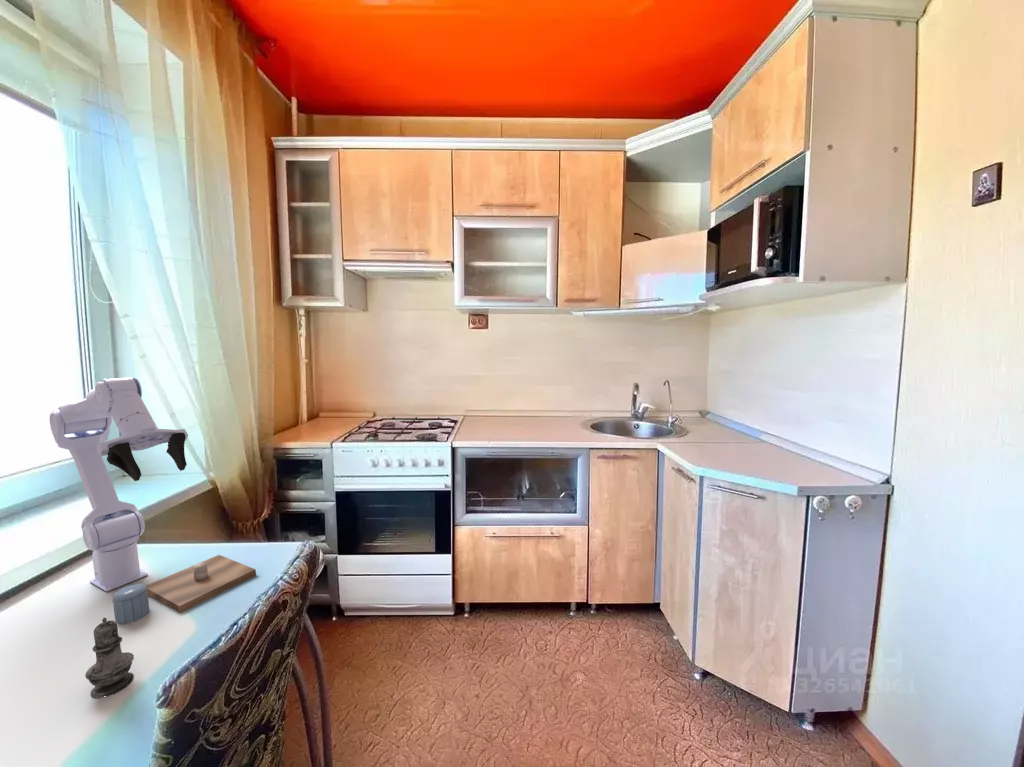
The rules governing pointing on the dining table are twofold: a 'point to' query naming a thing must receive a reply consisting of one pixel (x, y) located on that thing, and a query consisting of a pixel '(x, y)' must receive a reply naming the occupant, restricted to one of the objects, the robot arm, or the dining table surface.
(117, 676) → the dark grey tiered piece
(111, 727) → the dining table surface
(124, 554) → the robot arm
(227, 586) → the walnut board
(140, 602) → the cap
